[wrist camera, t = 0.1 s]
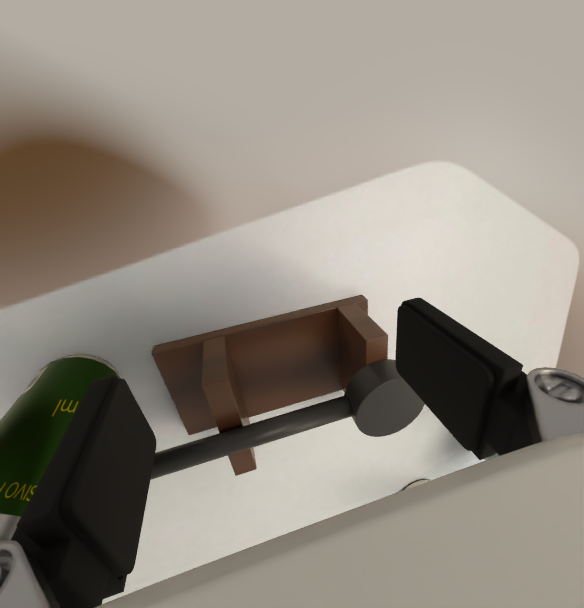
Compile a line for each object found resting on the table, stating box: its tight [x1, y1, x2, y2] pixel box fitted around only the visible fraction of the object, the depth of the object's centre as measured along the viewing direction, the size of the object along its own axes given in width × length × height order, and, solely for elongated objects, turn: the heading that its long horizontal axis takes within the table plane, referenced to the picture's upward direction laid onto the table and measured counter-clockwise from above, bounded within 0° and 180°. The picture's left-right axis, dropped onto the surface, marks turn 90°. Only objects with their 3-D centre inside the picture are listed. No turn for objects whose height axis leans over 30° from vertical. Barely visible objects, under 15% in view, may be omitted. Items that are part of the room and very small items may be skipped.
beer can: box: [0, 354, 120, 542], centre depth 17 cm, size 5×5×12 cm
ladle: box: [150, 359, 425, 480], centre depth 19 cm, size 5×20×2 cm, turn 98°
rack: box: [152, 295, 388, 476], centre depth 23 cm, size 9×17×6 cm, turn 98°
